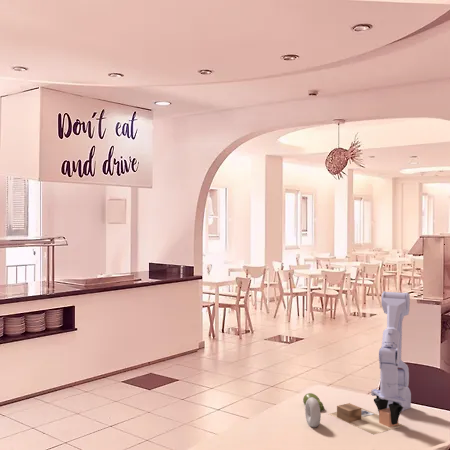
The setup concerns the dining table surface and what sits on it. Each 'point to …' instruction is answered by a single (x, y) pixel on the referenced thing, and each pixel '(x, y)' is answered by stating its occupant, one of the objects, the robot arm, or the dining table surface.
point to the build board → (369, 422)
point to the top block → (385, 417)
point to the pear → (313, 397)
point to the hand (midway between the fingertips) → (388, 421)
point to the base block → (349, 412)
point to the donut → (312, 412)
